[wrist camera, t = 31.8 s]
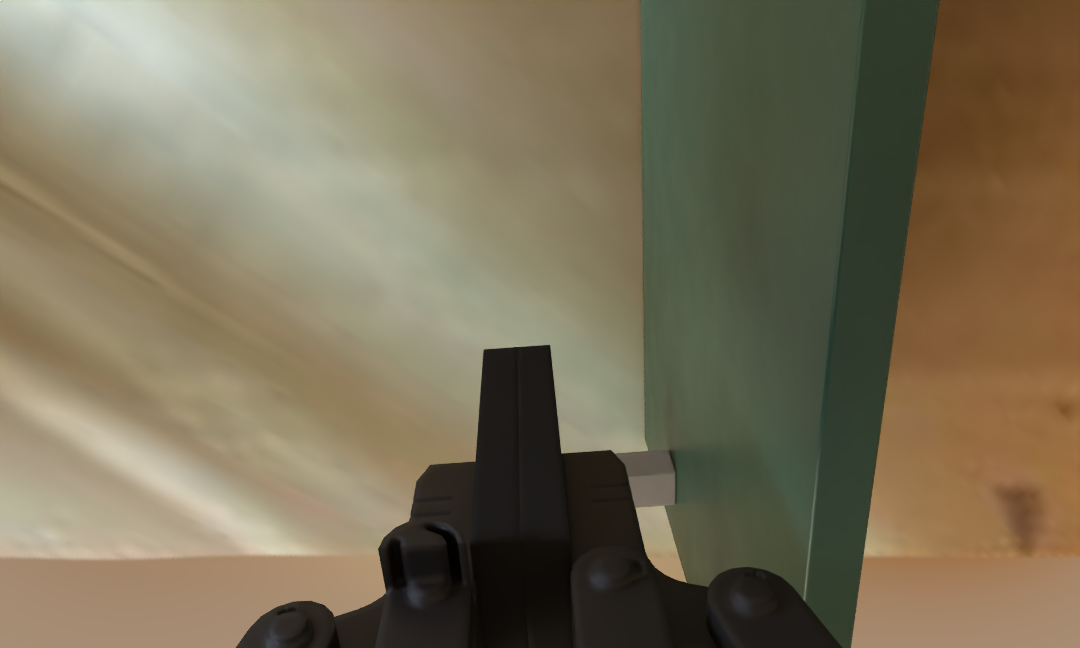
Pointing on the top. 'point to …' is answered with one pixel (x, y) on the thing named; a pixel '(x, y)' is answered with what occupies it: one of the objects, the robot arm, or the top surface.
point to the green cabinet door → (774, 276)
